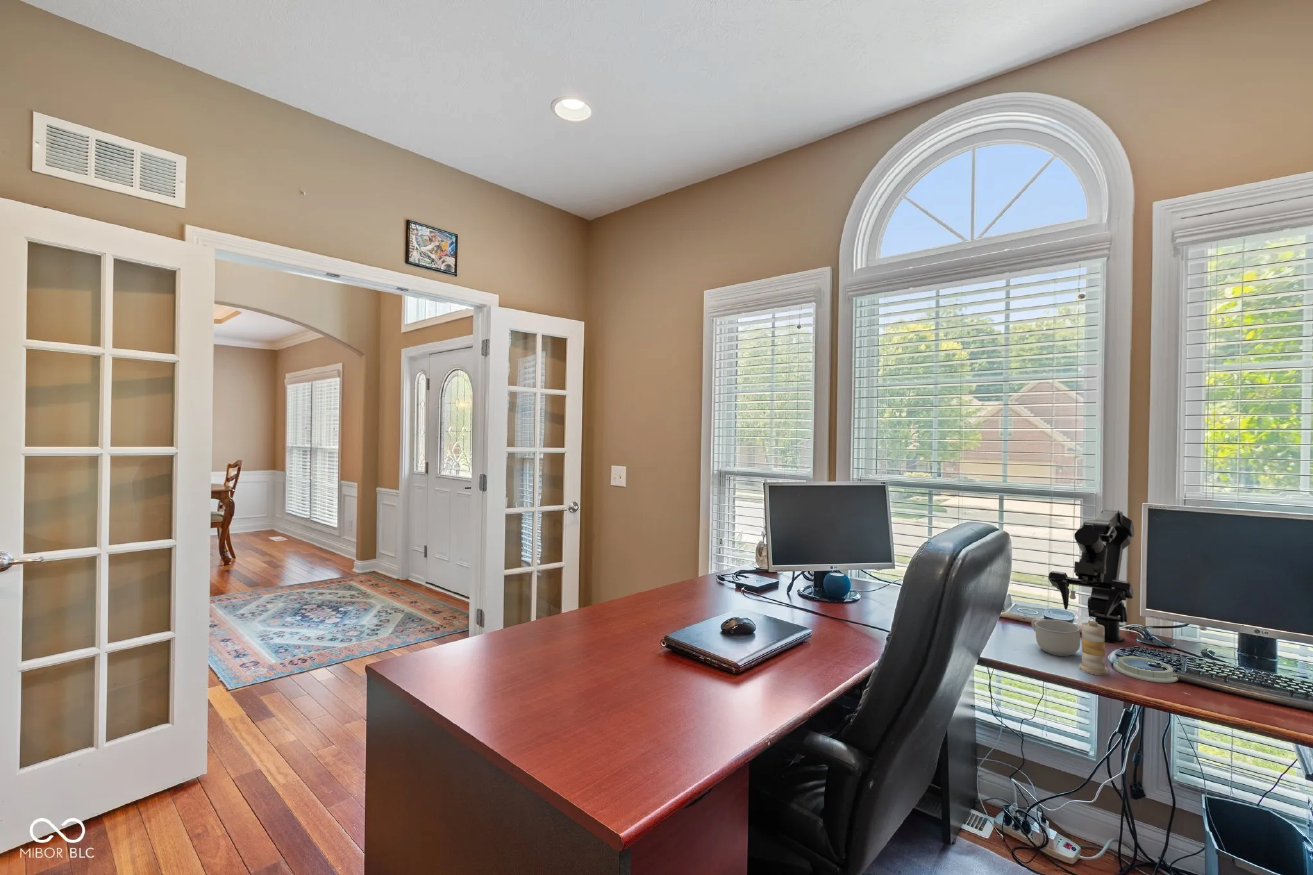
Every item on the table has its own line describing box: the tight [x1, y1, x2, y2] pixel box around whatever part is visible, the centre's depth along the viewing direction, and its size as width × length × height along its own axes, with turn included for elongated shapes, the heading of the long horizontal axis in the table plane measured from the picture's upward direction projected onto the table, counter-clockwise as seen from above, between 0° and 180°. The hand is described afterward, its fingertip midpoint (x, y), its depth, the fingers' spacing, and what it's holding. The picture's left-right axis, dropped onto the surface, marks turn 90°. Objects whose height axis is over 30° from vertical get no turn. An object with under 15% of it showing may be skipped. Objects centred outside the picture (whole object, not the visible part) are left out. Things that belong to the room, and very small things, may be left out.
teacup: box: [1031, 617, 1081, 657], centre depth 170 cm, size 14×11×8 cm
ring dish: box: [1113, 655, 1179, 684], centre depth 153 cm, size 13×13×2 cm
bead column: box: [1078, 620, 1109, 676], centre depth 155 cm, size 6×6×13 cm
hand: (1085, 612), depth 162 cm, fingers open, 9 cm apart
